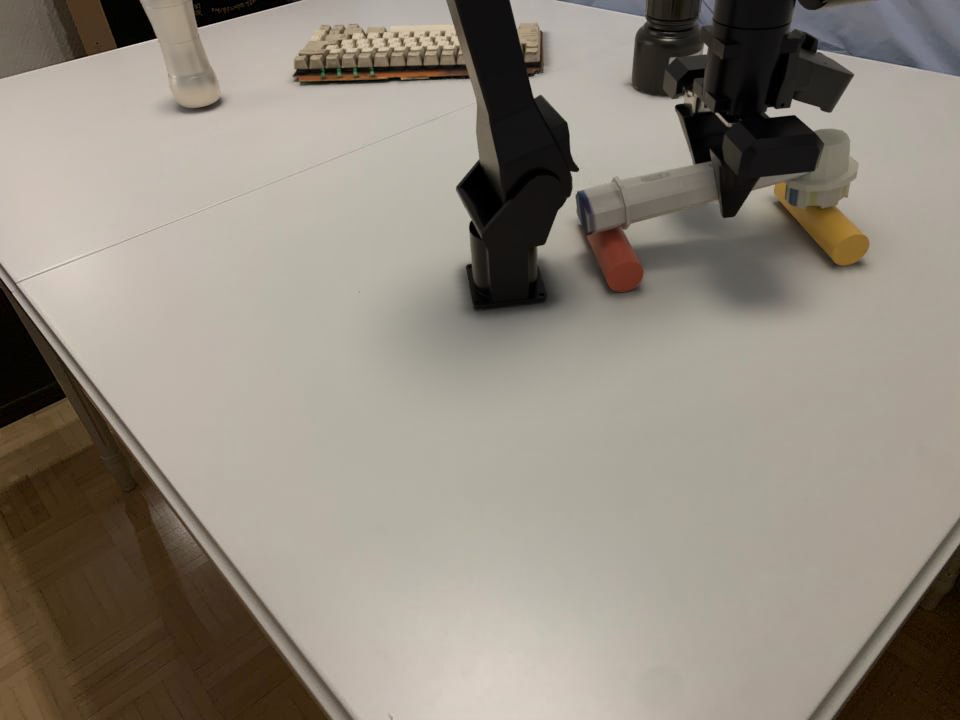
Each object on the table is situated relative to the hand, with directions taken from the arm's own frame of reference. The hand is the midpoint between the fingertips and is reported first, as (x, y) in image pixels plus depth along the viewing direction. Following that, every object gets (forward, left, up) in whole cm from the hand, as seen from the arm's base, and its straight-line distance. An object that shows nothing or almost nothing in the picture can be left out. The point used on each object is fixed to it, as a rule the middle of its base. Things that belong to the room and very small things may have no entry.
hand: (717, 202), depth 64 cm
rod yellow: (0, -10, -4) cm, 11 cm away
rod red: (0, +10, -4) cm, 11 cm away
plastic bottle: (+49, +56, -4) cm, 74 cm away
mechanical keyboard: (+59, +24, -4) cm, 64 cm away
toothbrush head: (0, 0, -1) cm, 1 cm away
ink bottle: (+39, -8, -4) cm, 40 cm away
